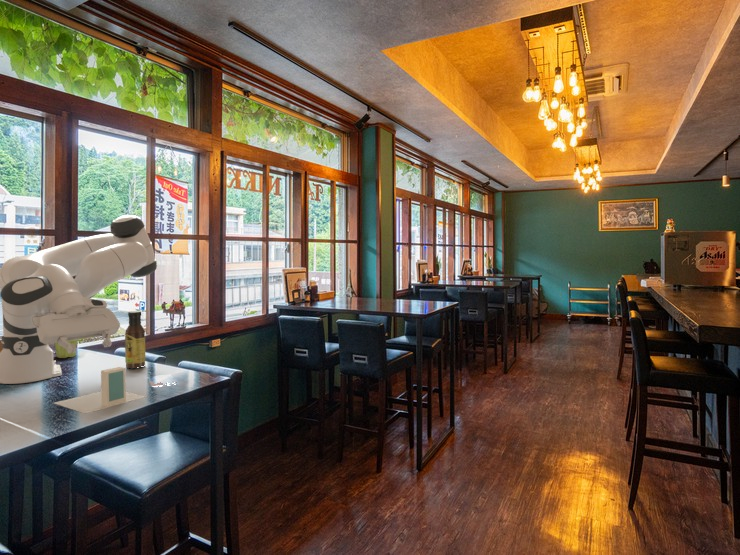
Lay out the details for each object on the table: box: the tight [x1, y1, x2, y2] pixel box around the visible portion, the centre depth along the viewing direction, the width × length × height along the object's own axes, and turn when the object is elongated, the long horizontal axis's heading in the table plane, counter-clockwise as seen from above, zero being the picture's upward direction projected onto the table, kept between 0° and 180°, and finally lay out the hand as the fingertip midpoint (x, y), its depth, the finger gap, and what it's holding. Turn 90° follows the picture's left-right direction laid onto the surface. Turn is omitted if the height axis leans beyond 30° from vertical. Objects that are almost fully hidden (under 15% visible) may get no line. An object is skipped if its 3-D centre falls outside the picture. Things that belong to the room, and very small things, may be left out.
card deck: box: [100, 366, 127, 408], centre depth 121 cm, size 2×5×9 cm, turn 149°
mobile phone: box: [148, 380, 176, 388], centre depth 144 cm, size 8×1×15 cm
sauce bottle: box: [124, 310, 146, 369], centre depth 162 cm, size 6×6×20 cm
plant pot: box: [53, 340, 78, 359], centre depth 181 cm, size 9×9×9 cm
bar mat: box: [53, 391, 147, 415], centre depth 124 cm, size 16×16×1 cm
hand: (91, 348), depth 126 cm, fingers open, 8 cm apart
